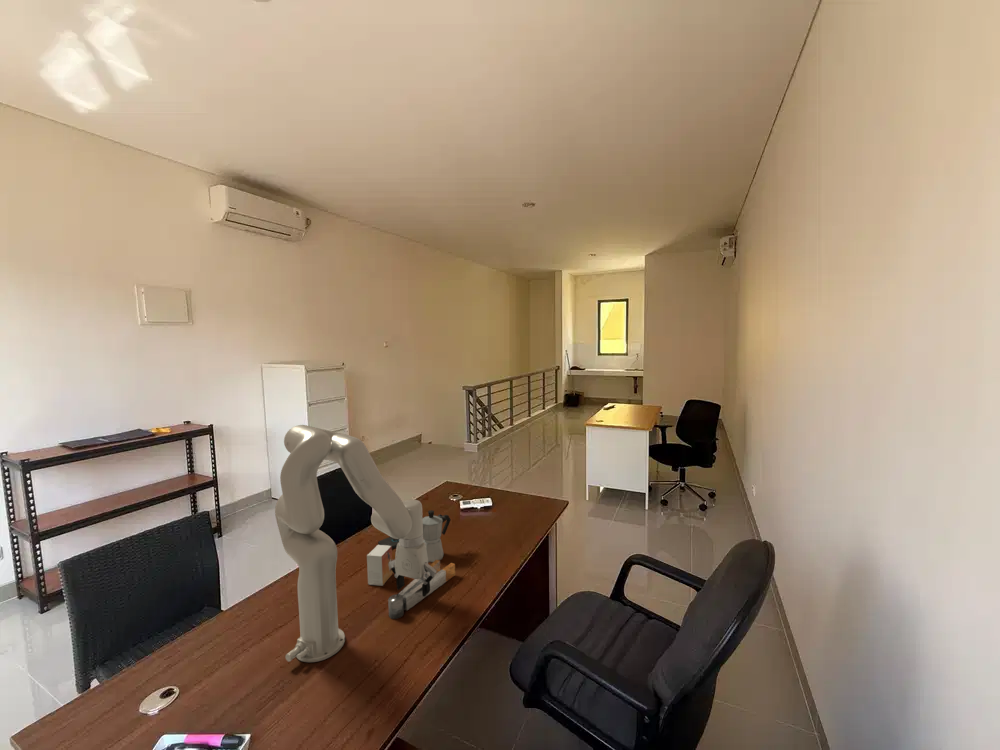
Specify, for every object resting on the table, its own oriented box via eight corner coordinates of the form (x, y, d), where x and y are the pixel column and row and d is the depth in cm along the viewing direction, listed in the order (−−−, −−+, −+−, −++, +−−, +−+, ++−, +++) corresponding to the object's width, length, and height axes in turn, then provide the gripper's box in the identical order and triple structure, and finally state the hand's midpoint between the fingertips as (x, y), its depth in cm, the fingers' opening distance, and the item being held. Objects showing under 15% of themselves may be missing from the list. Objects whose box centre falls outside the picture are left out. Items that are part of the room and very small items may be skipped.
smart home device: (377, 541, 176) (417, 525, 191) (377, 545, 176) (417, 529, 191) (388, 547, 171) (429, 530, 185) (388, 551, 171) (429, 534, 185)
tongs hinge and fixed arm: (397, 620, 128) (397, 604, 128) (385, 617, 130) (385, 601, 129) (446, 572, 154) (445, 559, 154) (435, 570, 156) (435, 556, 155)
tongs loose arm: (406, 610, 132) (406, 598, 132) (403, 609, 133) (402, 596, 133) (455, 575, 152) (454, 563, 151) (451, 573, 153) (451, 562, 152)
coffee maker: (424, 567, 158) (422, 519, 156) (412, 558, 165) (410, 512, 163) (457, 553, 168) (456, 508, 166) (444, 545, 174) (443, 502, 173)
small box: (382, 586, 146) (381, 556, 145) (367, 584, 147) (366, 555, 146) (393, 573, 154) (392, 545, 153) (378, 572, 155) (377, 544, 154)
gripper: (381, 540, 138) (383, 591, 139) (428, 549, 131) (429, 603, 132) (396, 530, 144) (398, 579, 146) (440, 539, 138) (442, 590, 139)
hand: (413, 590), depth 139 cm, fingers open, 9 cm apart
